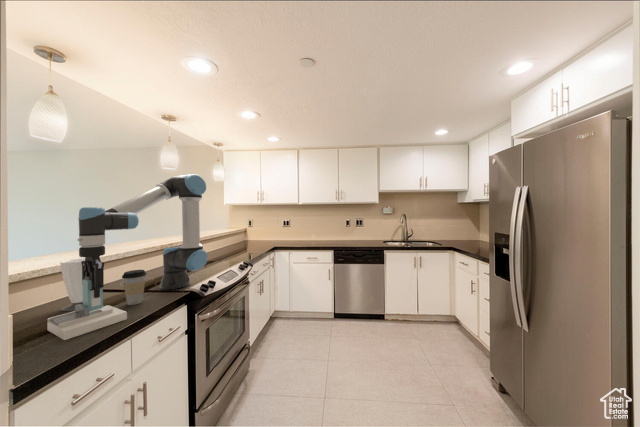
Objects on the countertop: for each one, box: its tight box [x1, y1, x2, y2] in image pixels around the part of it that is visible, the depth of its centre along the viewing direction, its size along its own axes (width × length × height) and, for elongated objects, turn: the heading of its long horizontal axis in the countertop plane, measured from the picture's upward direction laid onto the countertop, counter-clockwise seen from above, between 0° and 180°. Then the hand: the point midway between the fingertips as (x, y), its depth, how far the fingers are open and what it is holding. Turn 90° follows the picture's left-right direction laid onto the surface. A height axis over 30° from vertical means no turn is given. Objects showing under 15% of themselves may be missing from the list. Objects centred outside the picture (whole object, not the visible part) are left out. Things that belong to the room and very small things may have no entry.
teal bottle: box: [83, 274, 104, 312], centre depth 95 cm, size 5×5×15 cm
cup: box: [59, 257, 85, 312], centre depth 111 cm, size 12×12×22 cm
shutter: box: [52, 304, 89, 325], centre depth 90 cm, size 8×9×4 cm
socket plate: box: [46, 304, 128, 341], centre depth 93 cm, size 18×16×4 cm
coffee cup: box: [121, 269, 147, 306], centre depth 115 cm, size 9×9×15 cm
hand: (92, 304), depth 95 cm, fingers closed on teal bottle, 5 cm apart
